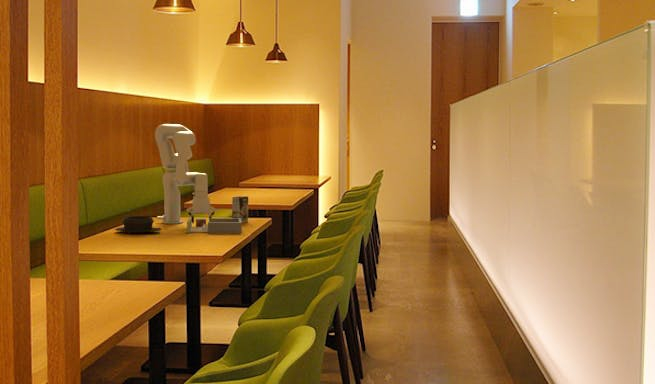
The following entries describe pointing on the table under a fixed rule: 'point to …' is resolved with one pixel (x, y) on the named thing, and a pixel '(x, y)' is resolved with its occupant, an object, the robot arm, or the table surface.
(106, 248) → the table surface
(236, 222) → the frame
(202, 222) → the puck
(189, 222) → the tray
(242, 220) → the coffee box
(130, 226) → the casserole
